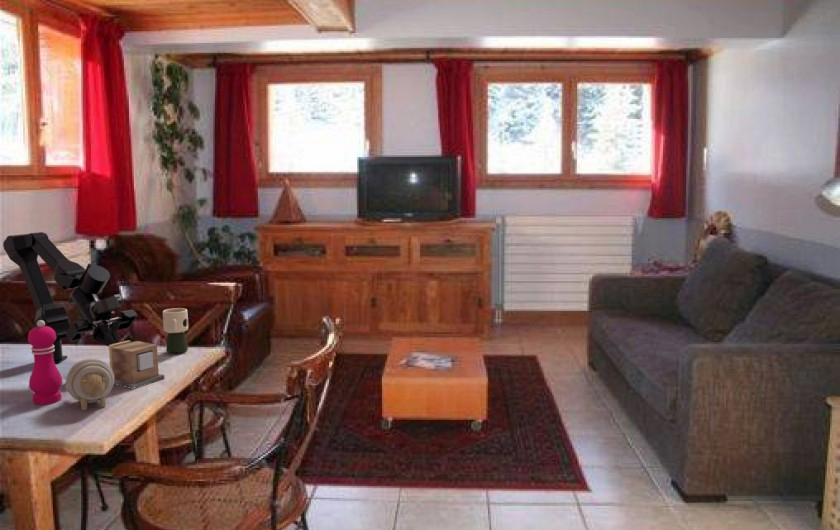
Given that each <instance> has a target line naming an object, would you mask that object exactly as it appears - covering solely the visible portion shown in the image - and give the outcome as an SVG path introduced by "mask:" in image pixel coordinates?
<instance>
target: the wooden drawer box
mask: <svg viewBox="0 0 840 530" xmlns="http://www.w3.org/2000/svg"><path fill="white" fill-rule="evenodd" d="M146 351H150V352H153V367H151V368H148V369H144V370H141V371H140V370H137V357H136V354H139V353H142V352H146ZM111 353H112V368H113V373H114V385H115V384H118V385H117V386H119V385H121V386H120V387H123V386H126V387H125V388H127V387H130V388H129V389H131V388H134V387H137V388H139V387H138V386H140V387H142V386H141V385H143V386H145V385H144V384H146V385H149V384H148V383H150V384H152V382H153V383H155V382H159V381H161V380H164V379H165V375H164V374H162V373H159V358H158V345H157V344H154V343H150V342H145V341H139V340H136V341H131V342H130V343H126V344H122V345H118V346H115V347H112V348H111ZM134 389H135V388H134Z"/></svg>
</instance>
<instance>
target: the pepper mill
mask: <svg viewBox="0 0 840 530" xmlns="http://www.w3.org/2000/svg"><path fill="white" fill-rule="evenodd" d="M37 326H38V327H36V328H35V327H33V328H32V329H31V330H30V331H29V333H28V335H27V341H28V343H29V345H31V346H32V347H31V348H30V349H31V354H33V358H34V359H33V360H34V361H33V363H34V364H33V368H32V371H31V374H30V377H29V381H28V386H29V387H28V388H29V389H30V391H32V392H33V394H32V395H31V397H32V403H33V404H35V405H49V404H54V403H57V402H59V401H60V400H62V391H61V390H60V388H61V387H62V386H63V377H62V375H61V372H60V371H59V369H58V367H57V366H56V363H54V359H53V352H54V351H55V349H54V347H55V346H54V345H53V343H54V341H55V340H56V333H55V331H54V330H53V329H52V328H50V327H47V326H45V322H44V321H43V320H39V321H38V322H37Z"/></svg>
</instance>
